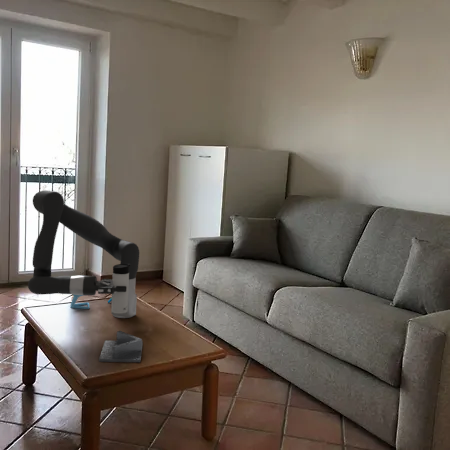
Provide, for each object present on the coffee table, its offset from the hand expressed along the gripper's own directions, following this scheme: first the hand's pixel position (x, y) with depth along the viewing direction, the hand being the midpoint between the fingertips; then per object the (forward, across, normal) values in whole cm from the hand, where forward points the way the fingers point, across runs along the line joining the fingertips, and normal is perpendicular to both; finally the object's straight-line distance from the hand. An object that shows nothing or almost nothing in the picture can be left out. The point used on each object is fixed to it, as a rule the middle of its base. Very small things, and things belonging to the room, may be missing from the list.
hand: (126, 286), depth 203 cm
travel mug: (-2, 0, +11) cm, 11 cm away
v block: (-1, -19, +19) cm, 27 cm away
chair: (-23, +36, +20) cm, 48 cm away
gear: (-8, +45, +20) cm, 50 cm away
